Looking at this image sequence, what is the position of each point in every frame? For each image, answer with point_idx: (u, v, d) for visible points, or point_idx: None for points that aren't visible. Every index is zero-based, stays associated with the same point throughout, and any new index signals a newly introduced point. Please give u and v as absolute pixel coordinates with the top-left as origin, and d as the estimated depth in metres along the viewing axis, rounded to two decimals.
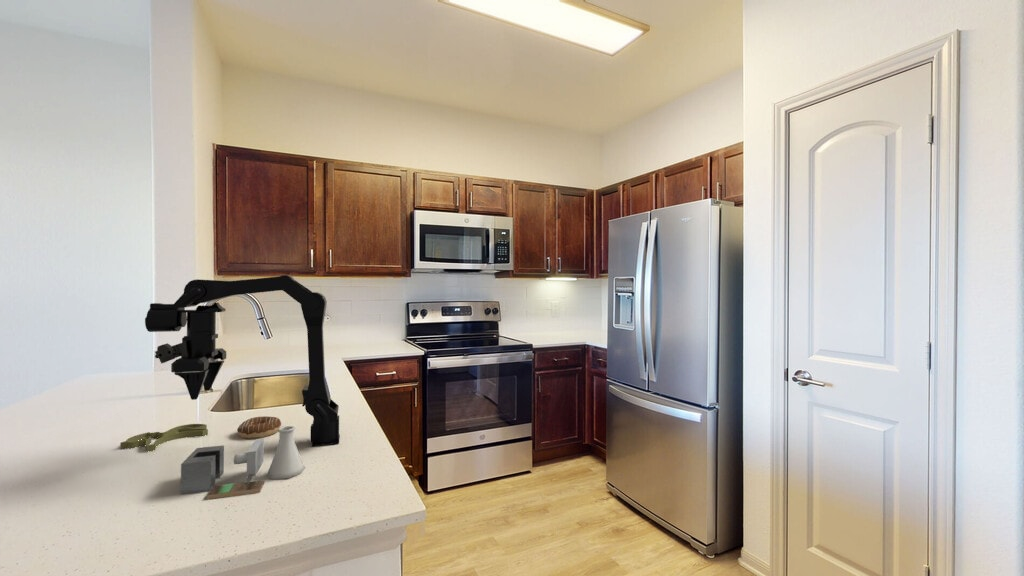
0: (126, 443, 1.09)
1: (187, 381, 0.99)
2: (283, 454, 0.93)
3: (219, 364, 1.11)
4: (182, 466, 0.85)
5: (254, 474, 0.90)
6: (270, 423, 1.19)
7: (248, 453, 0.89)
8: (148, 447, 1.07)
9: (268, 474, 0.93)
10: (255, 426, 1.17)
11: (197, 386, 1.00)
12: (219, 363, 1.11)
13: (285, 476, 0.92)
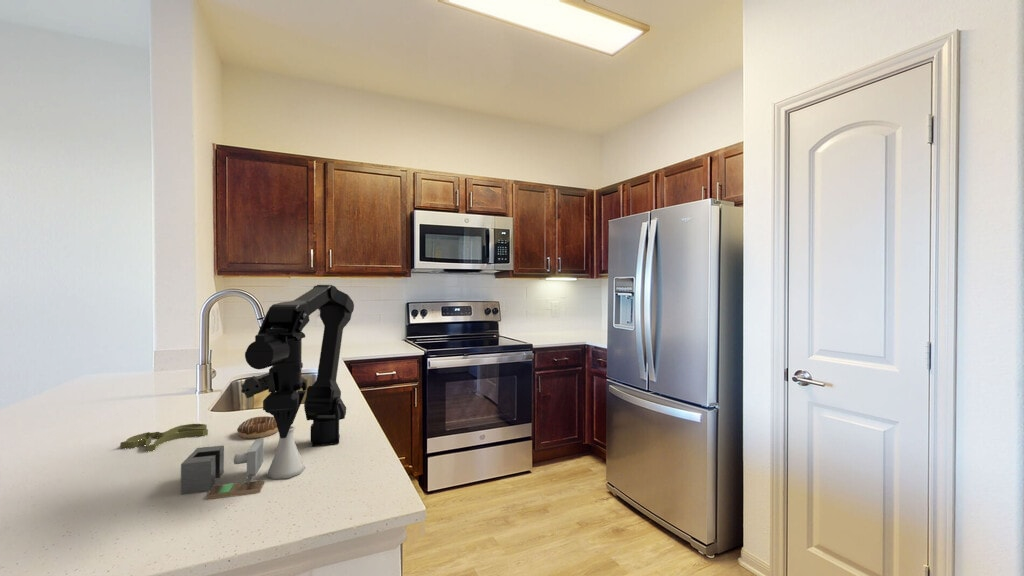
0: (126, 443, 1.09)
1: (277, 418, 0.89)
2: (284, 454, 0.93)
3: (302, 395, 1.01)
4: (182, 466, 0.85)
5: (254, 474, 0.90)
6: (270, 423, 1.19)
7: (248, 453, 0.89)
8: (148, 447, 1.07)
9: (268, 474, 0.93)
10: (255, 426, 1.17)
11: (287, 424, 0.91)
12: (302, 394, 1.01)
13: (285, 476, 0.92)
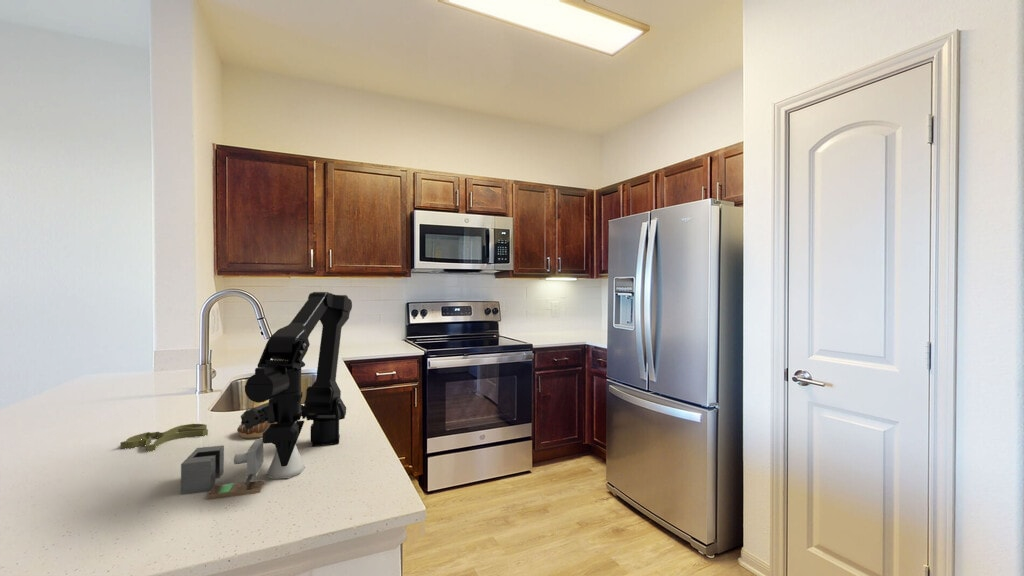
0: (126, 443, 1.09)
1: (278, 447, 0.91)
2: None
3: (300, 426, 0.99)
4: (182, 466, 0.85)
5: (254, 474, 0.90)
6: (270, 423, 1.19)
7: (248, 453, 0.89)
8: (148, 447, 1.07)
9: (268, 474, 0.93)
10: (255, 426, 1.17)
11: (288, 452, 0.92)
12: (300, 425, 0.99)
13: (285, 476, 0.92)
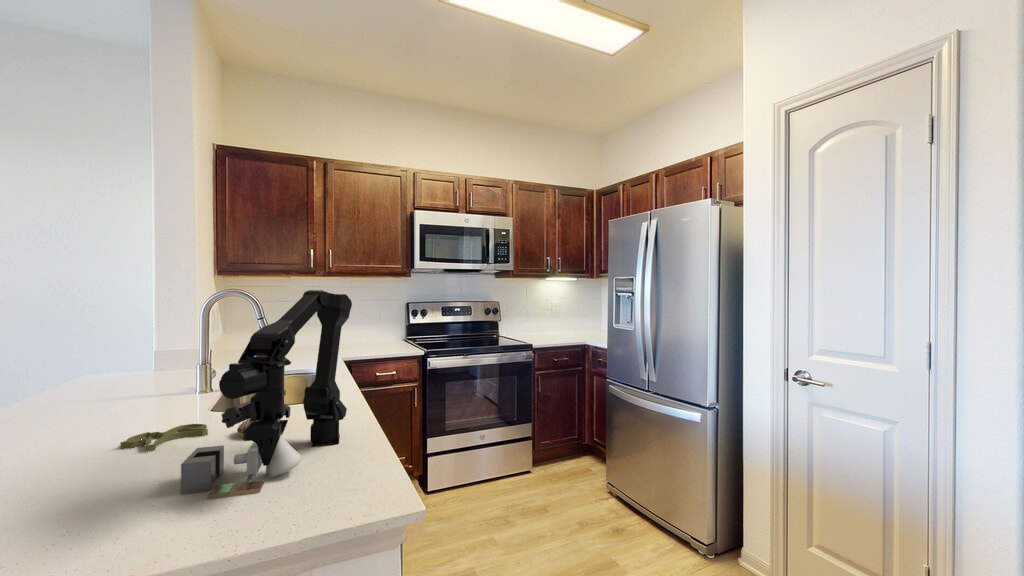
0: (126, 443, 1.09)
1: (260, 446, 0.89)
2: (274, 451, 0.93)
3: (284, 425, 0.98)
4: (182, 466, 0.85)
5: (254, 474, 0.90)
6: None
7: (248, 453, 0.89)
8: (148, 447, 1.07)
9: (267, 473, 0.93)
10: None
11: (270, 451, 0.91)
12: (284, 424, 0.98)
13: (282, 472, 0.92)
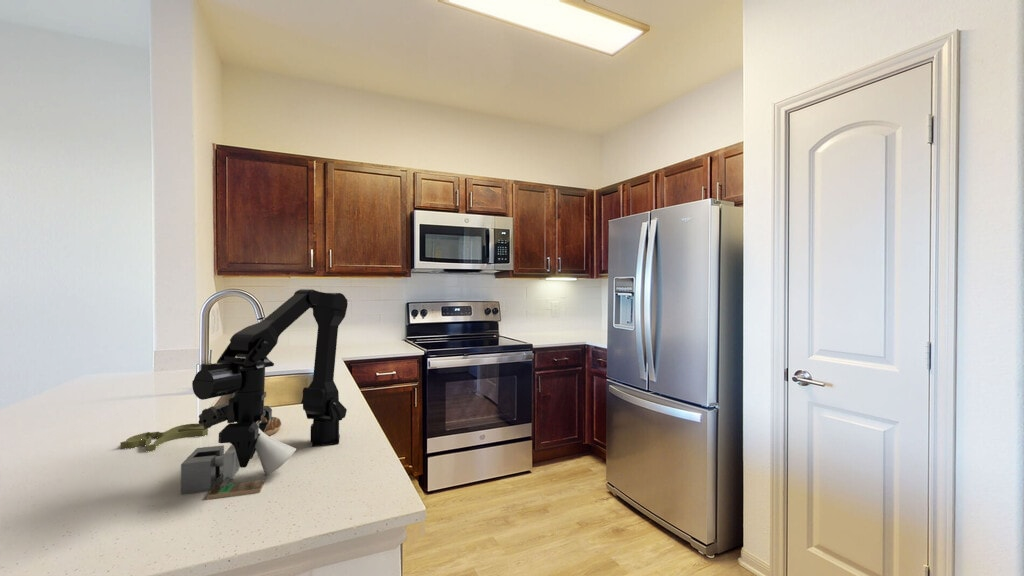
0: (126, 443, 1.09)
1: (237, 447, 0.88)
2: (262, 451, 0.92)
3: (263, 428, 0.96)
4: (182, 466, 0.85)
5: (231, 477, 0.88)
6: (270, 423, 1.19)
7: (225, 455, 0.88)
8: (148, 447, 1.07)
9: (265, 473, 0.93)
10: None
11: (248, 453, 0.90)
12: (263, 427, 0.96)
13: (276, 467, 0.92)
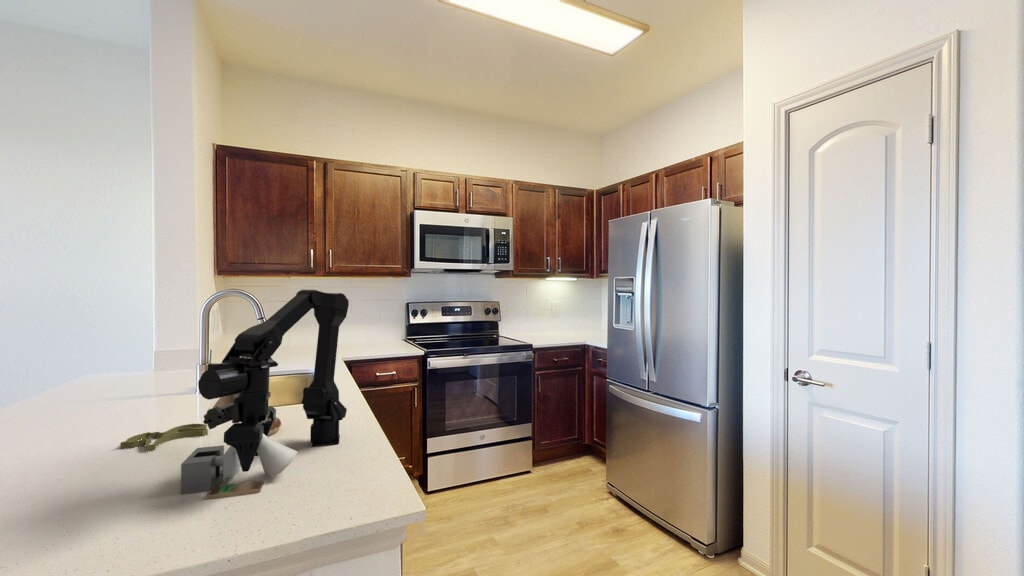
0: (126, 443, 1.09)
1: (239, 451, 0.86)
2: (264, 455, 0.91)
3: (269, 425, 0.98)
4: (182, 466, 0.85)
5: (231, 477, 0.88)
6: None
7: (225, 455, 0.88)
8: (148, 447, 1.07)
9: (265, 474, 0.93)
10: None
11: (250, 457, 0.88)
12: (269, 424, 0.98)
13: (277, 472, 0.91)
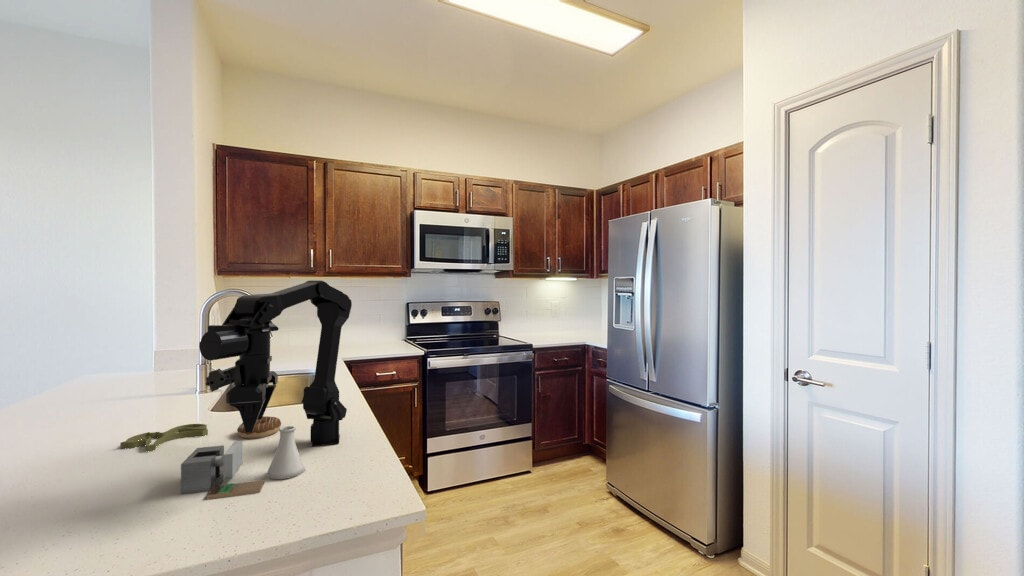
0: (126, 443, 1.09)
1: (242, 412, 0.87)
2: (281, 454, 0.93)
3: (272, 389, 0.99)
4: (182, 466, 0.85)
5: (231, 477, 0.88)
6: (270, 423, 1.19)
7: (225, 455, 0.88)
8: (148, 447, 1.07)
9: (268, 473, 0.94)
10: (255, 426, 1.17)
11: (253, 418, 0.88)
12: (272, 388, 0.99)
13: (280, 477, 0.92)
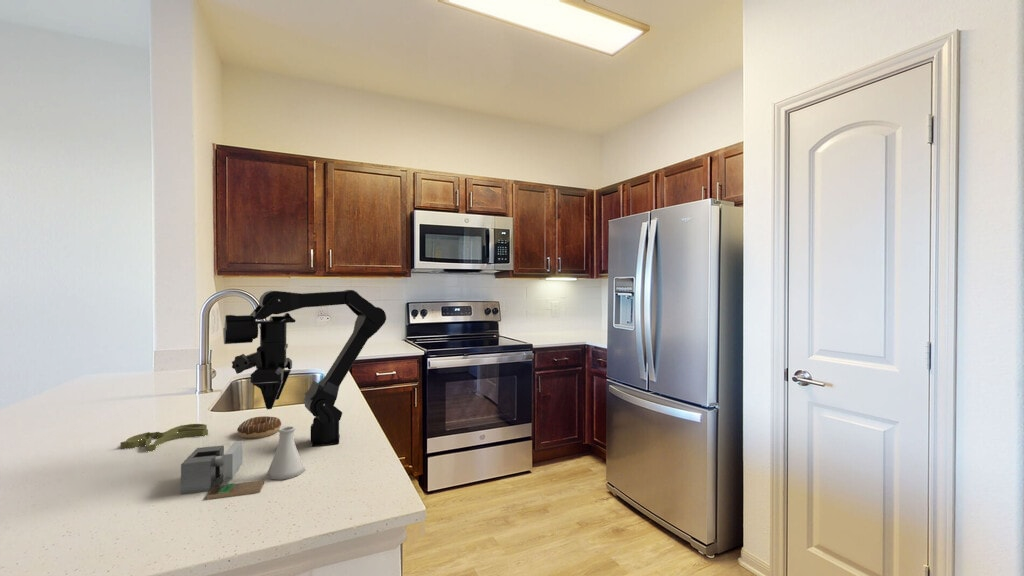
0: (126, 443, 1.09)
1: (263, 391, 1.01)
2: (281, 454, 0.93)
3: (287, 373, 1.12)
4: (182, 466, 0.85)
5: (231, 477, 0.88)
6: (270, 423, 1.19)
7: (225, 455, 0.88)
8: (148, 447, 1.07)
9: (268, 473, 0.93)
10: (255, 426, 1.17)
11: (273, 396, 1.02)
12: (287, 372, 1.12)
13: (280, 477, 0.92)
